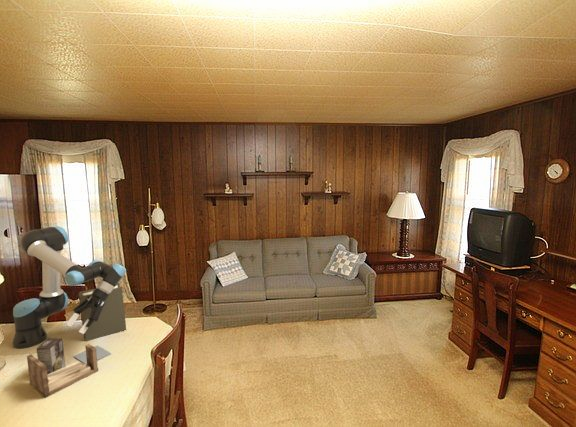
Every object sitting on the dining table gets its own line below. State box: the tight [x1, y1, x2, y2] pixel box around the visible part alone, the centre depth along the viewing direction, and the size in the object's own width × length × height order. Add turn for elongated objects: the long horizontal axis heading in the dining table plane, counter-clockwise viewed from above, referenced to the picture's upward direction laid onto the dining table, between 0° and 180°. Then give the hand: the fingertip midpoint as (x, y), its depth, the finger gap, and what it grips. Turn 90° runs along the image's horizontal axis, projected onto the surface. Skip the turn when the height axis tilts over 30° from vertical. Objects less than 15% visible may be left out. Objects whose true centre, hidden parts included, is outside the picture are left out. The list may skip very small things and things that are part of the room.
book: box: [78, 282, 127, 342], centre depth 187 cm, size 22×9×28 cm, turn 127°
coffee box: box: [36, 337, 66, 374], centre depth 150 cm, size 9×6×16 cm
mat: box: [73, 345, 112, 365], centre depth 166 cm, size 14×12×1 cm
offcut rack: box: [26, 343, 99, 399], centre depth 147 cm, size 16×22×14 cm
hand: (74, 329), depth 157 cm, fingers open, 13 cm apart
